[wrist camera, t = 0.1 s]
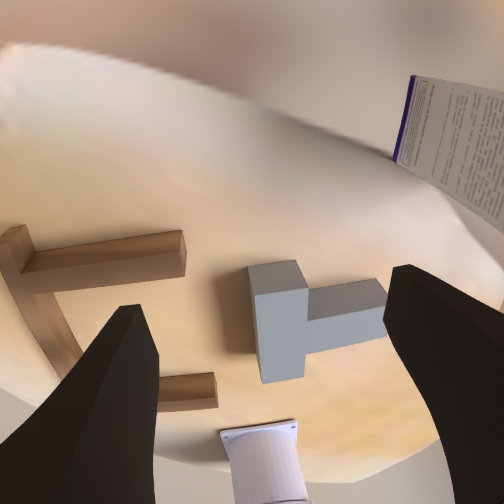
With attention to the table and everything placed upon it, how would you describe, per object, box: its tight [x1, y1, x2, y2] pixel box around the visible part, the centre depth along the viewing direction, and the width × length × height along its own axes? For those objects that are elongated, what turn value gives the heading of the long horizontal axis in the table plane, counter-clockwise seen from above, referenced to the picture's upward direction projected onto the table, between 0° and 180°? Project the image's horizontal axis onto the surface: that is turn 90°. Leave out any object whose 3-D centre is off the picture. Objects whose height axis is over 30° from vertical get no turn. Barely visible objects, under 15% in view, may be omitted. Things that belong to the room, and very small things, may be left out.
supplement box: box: [393, 75, 504, 234], centre depth 12 cm, size 6×6×12 cm
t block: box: [248, 260, 388, 384], centre depth 21 cm, size 8×9×3 cm
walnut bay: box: [0, 225, 219, 412], centre depth 20 cm, size 18×12×2 cm, turn 4°
